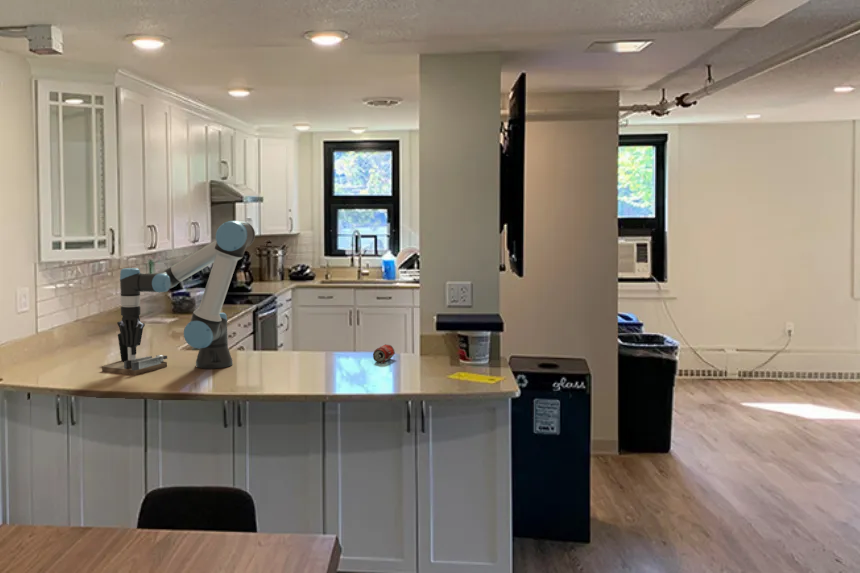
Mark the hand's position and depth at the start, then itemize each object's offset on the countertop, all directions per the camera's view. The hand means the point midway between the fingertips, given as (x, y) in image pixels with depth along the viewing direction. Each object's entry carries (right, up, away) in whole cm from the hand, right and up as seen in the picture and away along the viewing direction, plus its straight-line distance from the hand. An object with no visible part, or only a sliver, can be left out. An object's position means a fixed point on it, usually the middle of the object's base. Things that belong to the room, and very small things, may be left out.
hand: (131, 362), depth 312 cm
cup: (-11, -2, +24) cm, 27 cm away
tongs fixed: (+6, -2, +3) cm, 7 cm away
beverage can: (+103, -2, +21) cm, 105 cm away
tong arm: (+2, -2, +1) cm, 3 cm away
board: (-1, -3, +5) cm, 7 cm away
